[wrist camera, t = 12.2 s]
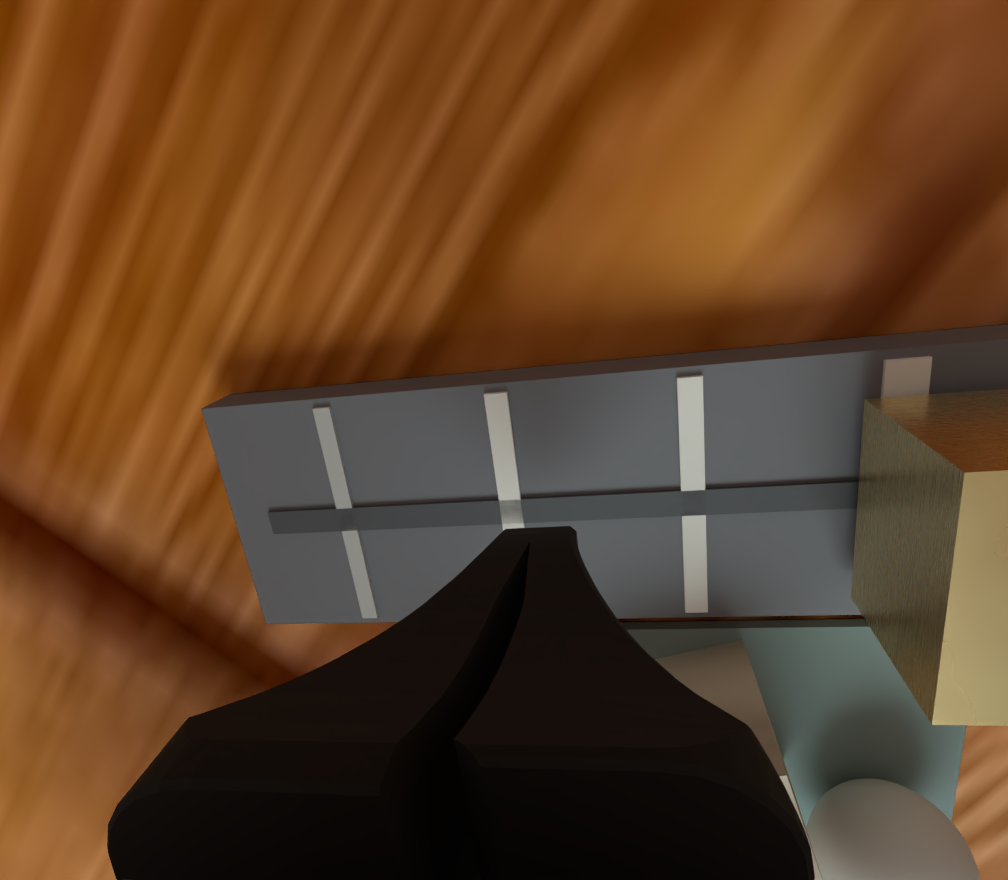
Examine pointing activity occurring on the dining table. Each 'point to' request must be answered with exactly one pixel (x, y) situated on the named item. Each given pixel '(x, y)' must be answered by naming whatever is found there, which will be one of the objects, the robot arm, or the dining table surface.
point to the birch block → (733, 698)
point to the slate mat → (830, 704)
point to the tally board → (580, 475)
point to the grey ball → (885, 835)
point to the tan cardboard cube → (938, 548)
